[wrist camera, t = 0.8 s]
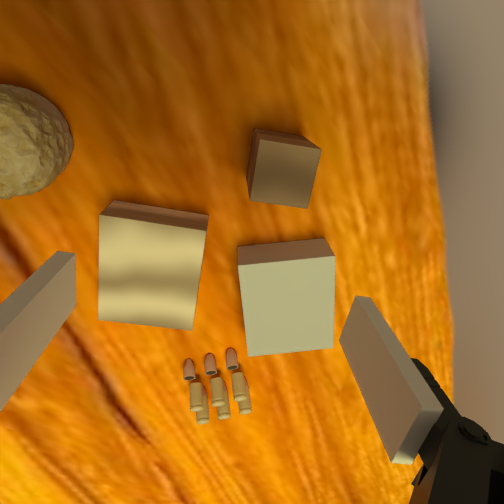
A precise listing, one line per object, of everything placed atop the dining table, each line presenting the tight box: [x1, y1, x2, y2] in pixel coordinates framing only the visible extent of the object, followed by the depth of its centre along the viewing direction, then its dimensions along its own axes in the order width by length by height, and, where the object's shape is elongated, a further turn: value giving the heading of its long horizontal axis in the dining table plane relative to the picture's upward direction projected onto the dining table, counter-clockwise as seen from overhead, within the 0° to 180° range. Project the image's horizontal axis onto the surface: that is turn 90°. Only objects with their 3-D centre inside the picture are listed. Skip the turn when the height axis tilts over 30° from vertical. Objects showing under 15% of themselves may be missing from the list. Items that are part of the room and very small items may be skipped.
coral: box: [0, 84, 73, 199], centre depth 31 cm, size 9×9×8 cm
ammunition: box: [183, 348, 252, 424], centre depth 46 cm, size 5×7×8 cm
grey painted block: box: [237, 238, 335, 357], centre depth 41 cm, size 12×10×5 cm
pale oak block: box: [98, 200, 209, 331], centre depth 38 cm, size 12×10×5 cm
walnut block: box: [246, 128, 322, 209], centre depth 32 cm, size 5×5×8 cm
